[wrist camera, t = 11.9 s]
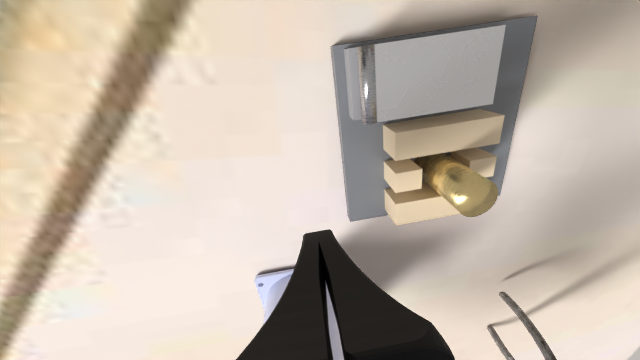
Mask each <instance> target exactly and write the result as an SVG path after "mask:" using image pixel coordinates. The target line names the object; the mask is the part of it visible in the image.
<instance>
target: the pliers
mask: <svg viewBox="0 0 640 360" xmlns="http://www.w3.org/2000/svg"><path fill="white" fill-rule="evenodd" d="M499 295H500V296H501V298H502V299H503V300H504V301H505V302H506V303H507V304H508V305H509V306H510V308H511V309H512V310H513V311H514V312H515V313H516V315H517V316H518V317H519V319H520V320H521V321H522V323H523V324H524V325H525V327H526V328H527V330H528V331H529V333H530V334H531V335H532V337H533V339H534V340H535V342H536V344H537V345H538V347H539V349H540V350H541V352H542V354H543V356H544V358H545V359H546V360H557V359H556V358H555V356H554V354H553V353H552V351H551V349H550V348H549V346H548V344H547V343H546V341H545V340H544V338H543V337H542V335H541V334H540V332H539V331H538V330H537V328H536V327H535V326H534V324H533V323H532V322H531V320H530V319H529V318H528V317H527V315H526V314H525V313H524V312H523V311H522V309H521V308H520V307H519V306H518V305H517V304H516V303H515V302H514V301H513V300H512V299H511V298H510V297H509V296H508V295H507V294H506V293H505V292H500V293H499ZM487 329H488V331H489V332H490V334H491V336H492V338H493V339H494V341H495V343H496V344H497V346H498V347H499V349H500V350H501V352H502V353H503V355H504V356H505V358H506V359H507V360H515V359H514V358H513V357H512V355H511V354H510V353H509V351H508V350H507V348H506V347H505V345H504V344H503V342H502V341H501V339H500V338H499V336H498V334H497V333H496V331H495V330H494V328H493V327H492V326H488V328H487Z"/></svg>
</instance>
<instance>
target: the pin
mask: <svg viewBox="0 0 640 360" xmlns="http://www.w3.org/2000/svg"><path fill="white" fill-rule="evenodd" d="M414 163H416V164H417V165H418V166H419V167H421V168H422V169H423V170H422V179H423V180H424V181H425V182H426V183H427V184H428V185H430V186H431V187H432V188H433V189H434V190H435V191H436V192H437V193H438V194H440V195H441V196H442V197H443V198H444V199H445V200H446V201H447V202H449V203H450V204H451V205H452V206H453V207H454V208H455V209H456V210H457V211H459V212H460V213H461V214H462V215H464V216H467V217H474V216H478V215H481V214H483V213H485V212H486V211H488V210H489V209H490V208H491V207H492V206H493V205H494V203H495V201H496V199H497V197H498V188H497V186H496V184H495V183H493V182H492V181H490V180H489V179H487V178H485V177H484V176H482V175H480V174H479V173H477V172H475V171H474V170H472V169H470V168H469V167H467V166H465V165H464V164H462V163H460V162H459V161H457V160H455V159H454V158H452V157H450V156H449V155H447V154H445V153H439V154H433V155H428V156H422V157H416V159H415V161H414Z"/></svg>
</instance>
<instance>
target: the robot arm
mask: <svg viewBox="0 0 640 360" xmlns="http://www.w3.org/2000/svg"><path fill="white" fill-rule="evenodd" d="M260 283H262V284H260ZM255 284H256V287H257V290H258V293H259V296H260V299H261V302H262V305H263V307H264V310H265V312H264V323H263V326H262V328H261V329H260V330H259V332H258V333H257V335H256V336H255V337H254V339H253V340H252V341H251V342H250V343H249V345H248V346H247V347H246V348H245V350H244V351H243V352H242V353H241V354H240V356H239V357H238V358H237V359H236V360H455V358H454V356H453V354H452V352H451V350H450V348H449V346H448V345H447V343H446V342H445V340H444V339H443V337H442V336H441V335H440V333H439V332H438V331H437V329H436V328H435V327H434V325H433V324H432V323H431V322H429V321H428V320H426V319H424V318H423V317H421V316H419V315H417V314H416V313H414V312H412V311H411V310H409V309H408V308H406V307H405V306H403V305H402V304H400V303H399V302H397V301H396V300H395V299H393V298H392V297H391V296H390V295H388V294H387V293H386V292H384V291H383V290H382V289H380V288H379V287H378V286H377V285H376V284H375V283H373V282H372V281H371V280H370V279H369V278H368V277H367V276H366V275H365V274H364V273H363V272H362V271H361V270H360V269H359V268H358V267H357V266H356V265H355V264H354V262H353V261H352V260H351V259H350V258H349V257H348V255H347V254H346V253H345V251H344V250H343V249H342V247H341V246H340V245H339V243H338V242H337V240H336V238H335V237H334V235H333V233H332V231H331V230H330V229H329V230H323V231H317V232H312V233H306V234H305V235H304V236H303V242H302V247H301V250H300V254H299V257H298V260H297V263H296V266H295V268H294V269H289V270H284V271H278V272H273V273H267V274H262V275H257V276H256V277H255Z"/></svg>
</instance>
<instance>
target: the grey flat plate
mask: <svg viewBox="0 0 640 360" xmlns="http://www.w3.org/2000/svg"><path fill="white" fill-rule="evenodd" d="M505 27H506V25H501V26H494V27H488V28H481V29H474V30H467V31H461V32H454V33H447V34H441V35H434V36H427V37H420V38H414V39H407V40H400V41H394V42H387V43H380V44H373V45H367V46H360V47H357V51H358V68H359V84H360V101H361V117H362V124H375V123H377V122H383V121H389V120H395V119H402V118H408V117H414V116H421V115H427V114H433V113H440V112H446V111H452V110H458V109H465V108H471V107H477V106H484V105H490V104H493V100H494V94H495V88H496V82H497V76H498V70H499V64H500V58H501V52H502V46H503V39H504V33H505Z"/></svg>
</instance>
